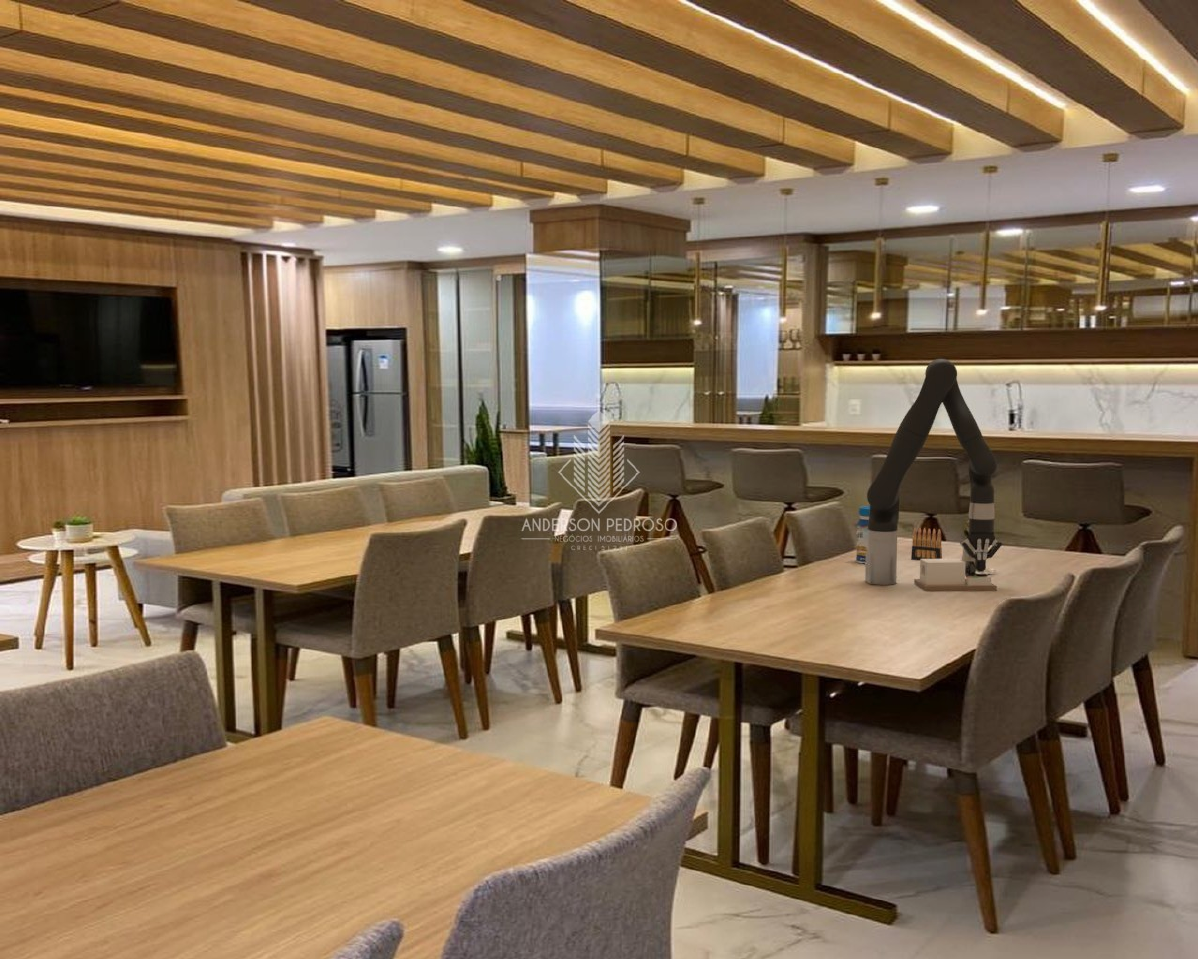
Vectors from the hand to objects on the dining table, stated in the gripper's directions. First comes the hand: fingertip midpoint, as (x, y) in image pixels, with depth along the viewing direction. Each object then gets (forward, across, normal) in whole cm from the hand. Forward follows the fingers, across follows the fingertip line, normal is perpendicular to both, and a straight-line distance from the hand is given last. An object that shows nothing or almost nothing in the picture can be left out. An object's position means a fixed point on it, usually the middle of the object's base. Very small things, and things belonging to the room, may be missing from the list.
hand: (980, 571), depth 331 cm
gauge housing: (+5, -8, 0) cm, 9 cm away
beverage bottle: (+5, -24, +46) cm, 52 cm away
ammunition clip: (+5, -2, +49) cm, 49 cm away
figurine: (+5, +7, +24) cm, 26 cm away
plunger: (+2, -9, -1) cm, 10 cm away
